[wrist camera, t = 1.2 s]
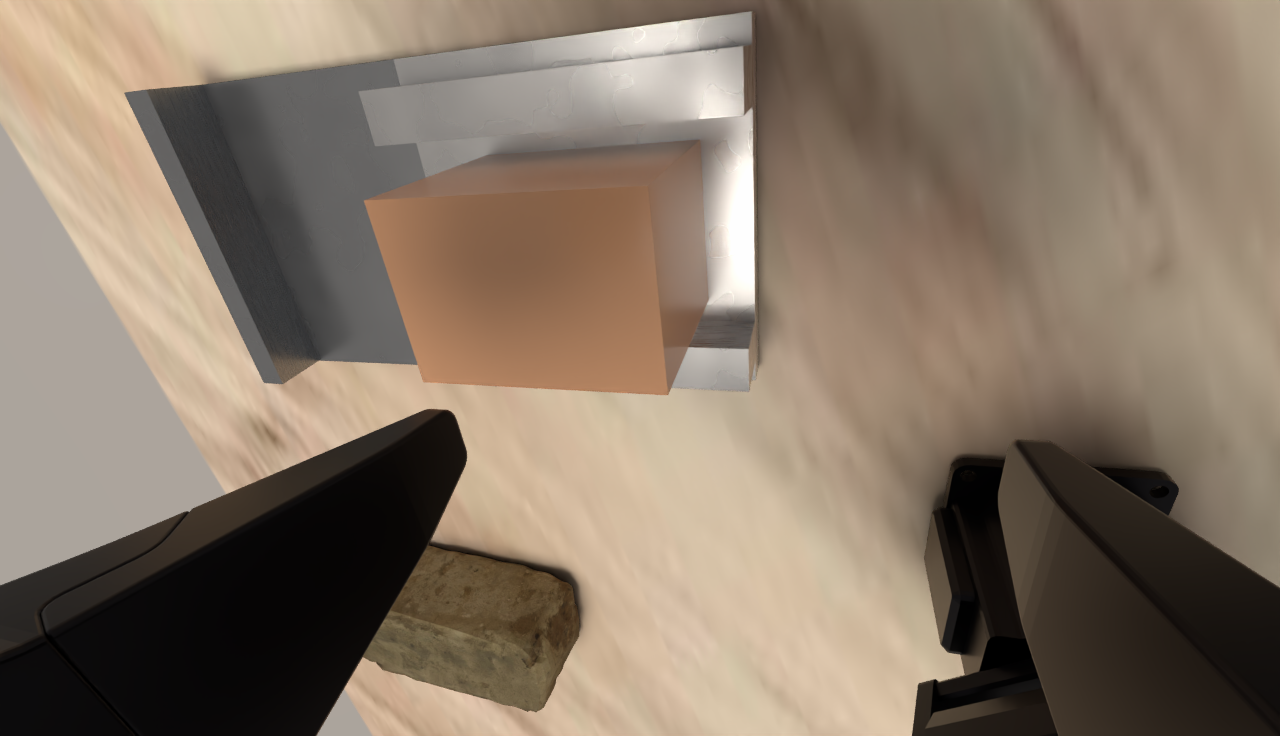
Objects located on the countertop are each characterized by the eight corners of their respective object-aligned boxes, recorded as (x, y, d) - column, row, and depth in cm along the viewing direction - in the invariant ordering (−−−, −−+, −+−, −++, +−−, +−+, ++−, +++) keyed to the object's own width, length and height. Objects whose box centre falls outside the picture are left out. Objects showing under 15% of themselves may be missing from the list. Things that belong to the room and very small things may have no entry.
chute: (755, 12, 16) (742, 8, 13) (758, 366, 21) (749, 411, 18) (205, 85, 21) (124, 92, 19) (316, 349, 27) (263, 382, 24)
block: (700, 139, 17) (647, 185, 12) (708, 299, 19) (668, 395, 14) (486, 155, 19) (363, 200, 14) (518, 298, 21) (423, 382, 16)
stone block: (386, 528, 32) (322, 602, 28) (580, 566, 30) (541, 654, 25) (410, 597, 35) (355, 673, 31) (589, 638, 32) (555, 728, 28)
